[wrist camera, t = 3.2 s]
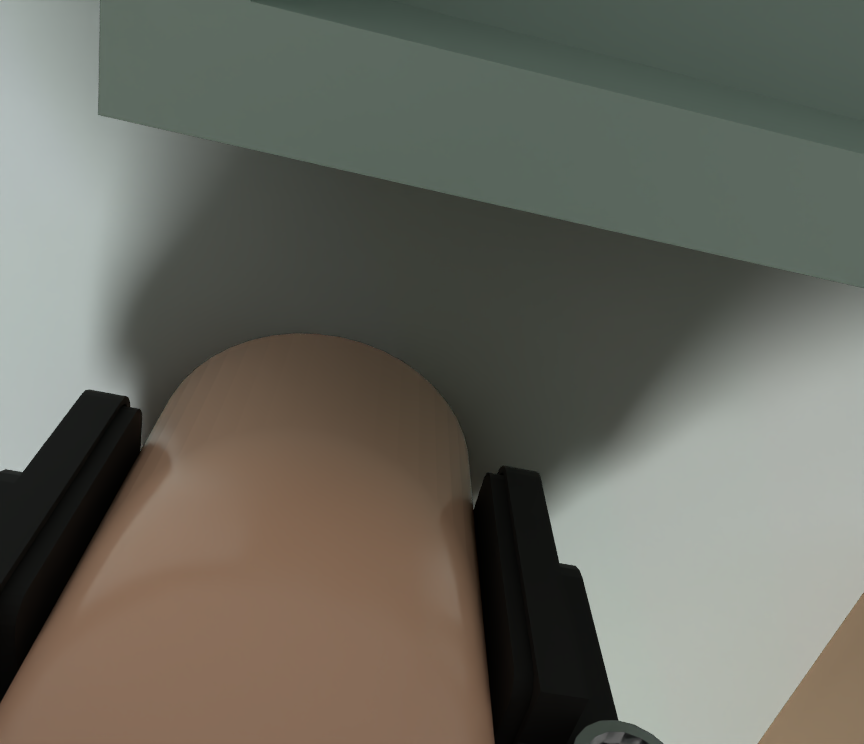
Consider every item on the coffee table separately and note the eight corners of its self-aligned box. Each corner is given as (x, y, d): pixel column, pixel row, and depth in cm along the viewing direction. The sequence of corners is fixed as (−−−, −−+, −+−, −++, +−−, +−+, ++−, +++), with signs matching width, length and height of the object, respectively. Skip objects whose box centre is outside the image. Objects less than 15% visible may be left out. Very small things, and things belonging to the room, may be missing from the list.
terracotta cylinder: (506, 369, 11) (604, 868, 5) (430, 607, 14) (438, 1141, 8) (164, 302, 11) (-176, 775, 5) (147, 562, 13) (-95, 1103, 7)
